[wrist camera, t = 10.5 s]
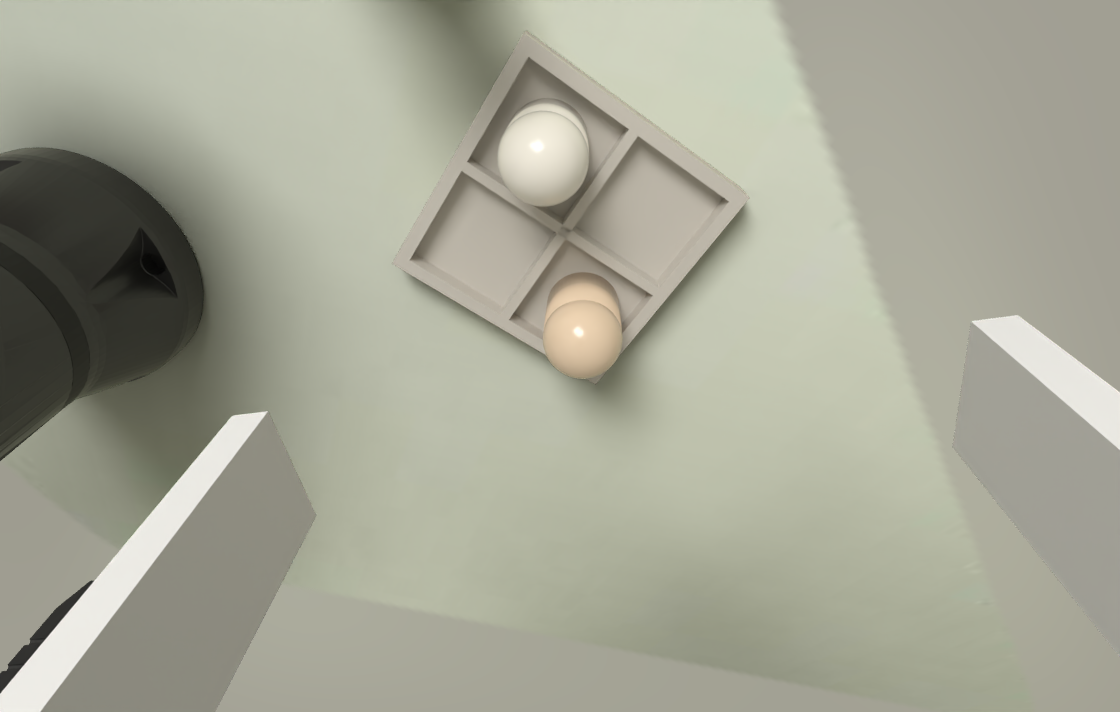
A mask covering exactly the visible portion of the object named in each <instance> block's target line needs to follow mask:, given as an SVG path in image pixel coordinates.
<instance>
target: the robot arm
mask: <svg viewBox="0 0 1120 712" xmlns="http://www.w3.org/2000/svg"><path fill="white" fill-rule="evenodd" d="M202 308H203V288H202V281H201V276H200V272H199V268H198V265H197V262H196V259H195V257H194V254H193V252H192V250H191V248H190V246H189V244H188V242H187V240H186V239H185V237H184V235H183V233H182V232H181V230H180V229H179V227H178V226H177V225H176V223H175V222H174V221H173V219H172V218H171V217H170V216H169V214H168V213H167V212H166V211H165V210H164V209H163V208H162V206H161V205H160V204H159V203H158V202H157V201H156V200H155V199H154V198H153V197H151V196H150V195H149V194H148V193H147V192H146V191H145V190H143V189H142V188H141V187H140V186H138V185H137V184H136V183H134V182H133V181H132V180H130V179H129V178H127V177H126V176H124V175H123V174H121V173H119V172H118V171H116V170H114V169H112V168H111V167H109V166H107V165H105V164H103V163H101V162H98V161H96V160H94V159H91V158H89V157H86V156H83V155H80V154H77V153H73V152H69V151H65V150H59V149H52V148H24V149H17V150H13V151H9V152H5V153H2V154H0V461H1V460H2V459H3V458H5V457H6V456H7V455H8V454H9V453H11V452H12V451H13V450H14V449H15V448H16V447H18V446H19V445H20V444H21V443H22V442H24V441H25V440H26V439H27V438H28V437H30V436H31V435H32V434H33V433H34V432H36V431H37V430H38V429H39V428H40V427H42V426H43V425H44V424H45V423H46V422H48V421H49V420H50V419H51V418H52V417H54V416H55V415H56V414H57V413H58V412H60V411H61V410H62V409H63V408H65V407H66V406H67V405H68V404H70V403H71V402H72V401H74V400H75V399H78V398H81V397H84V396H87V395H91V394H94V393H97V392H100V391H103V390H106V389H109V388H112V387H114V386H117V385H120V384H123V383H125V382H130V381H133V380H136V379H139V378H142V377H144V376H146V375H148V374H150V373H152V372H154V371H155V370H157V369H158V368H160V367H161V366H163V365H164V364H165V363H166V362H168V361H169V360H170V359H171V358H172V357H173V356H174V355H176V354H177V353H178V352H179V351H180V350H181V349H182V348H183V347H184V346H185V345H186V344H187V343H188V342H189V340H190V339H191V338H192V336H193V335H194V333H195V331H196V329H197V327H198V324H199V321H200V318H201V314H202ZM953 448H954V450H955V451H956V452H957V453H958V455H959V456H960V457H961V459H962V460H963V461H964V462H965V464H966V465H967V466H968V467H969V468H970V470H971V471H972V472H973V473H974V475H975V476H976V477H977V479H978V480H979V481H980V482H981V483H982V484H983V486H984V487H985V489H986V490H987V491H988V492H989V494H990V495H991V496H992V497H993V499H994V500H995V501H996V502H997V504H998V505H999V506H1000V507H1001V509H1002V510H1003V511H1004V512H1005V514H1006V515H1007V516H1008V517H1009V519H1010V520H1011V521H1012V523H1014V525H1015V526H1016V528H1017V529H1018V530H1019V531H1020V533H1021V534H1022V535H1023V536H1024V537H1025V539H1026V540H1027V541H1028V542H1029V544H1030V545H1031V546H1032V548H1033V549H1034V550H1035V551H1036V553H1037V554H1038V555H1039V556H1040V557H1041V559H1042V560H1043V561H1044V563H1045V564H1046V565H1047V566H1048V567H1049V569H1050V570H1051V571H1052V573H1053V574H1054V575H1055V576H1056V578H1057V579H1058V580H1059V581H1060V583H1061V584H1062V585H1063V586H1064V588H1065V589H1066V590H1067V591H1068V593H1069V594H1070V595H1071V596H1072V598H1073V599H1074V600H1075V601H1076V603H1077V604H1078V605H1079V607H1080V608H1081V609H1082V610H1083V612H1084V613H1085V614H1086V615H1087V617H1088V618H1089V619H1090V620H1091V622H1092V623H1093V624H1094V625H1095V627H1096V628H1097V629H1098V630H1099V632H1100V633H1101V634H1102V635H1103V637H1104V638H1105V639H1106V640H1107V642H1108V643H1109V644H1110V645H1111V646H1112V648H1113V649H1114V650H1115V652H1116V653H1117V654H1118V655H1119V657H1120V392H1118V391H1117V390H1116V389H1115V388H1113V387H1112V386H1111V385H1109V384H1108V383H1107V382H1105V381H1104V380H1103V379H1101V378H1100V377H1099V376H1097V375H1096V374H1095V373H1093V372H1092V371H1091V370H1089V369H1088V368H1087V367H1085V366H1084V365H1083V364H1081V363H1080V362H1079V361H1078V360H1076V359H1075V358H1074V357H1072V356H1071V355H1069V354H1068V353H1067V352H1066V351H1064V350H1063V349H1062V348H1060V347H1059V346H1058V345H1056V344H1055V343H1054V342H1052V341H1051V340H1050V339H1048V338H1047V337H1046V336H1045V335H1043V334H1042V333H1041V332H1039V331H1038V330H1037V329H1035V328H1034V327H1033V326H1031V325H1030V324H1028V323H1027V322H1026V321H1025V320H1023V319H1022V318H1021V317H1019V316H1018V315H1016V316H1008V317H1000V318H992V319H984V320H977V321H971V325H970V331H969V338H968V345H967V352H966V359H965V365H964V372H963V379H962V386H961V393H960V399H959V406H958V413H957V419H956V427H955V433H954V440H953ZM315 517H316V513H315V511H314V509H313V507H312V505H311V502H310V500H309V498H308V496H307V494H306V492H305V489H304V487H303V485H302V483H301V481H300V479H299V477H298V474H297V472H296V470H295V468H294V466H293V464H292V461H291V459H290V457H289V455H288V453H287V451H286V448H285V446H284V444H283V442H282V440H281V438H280V435H279V433H278V431H277V429H276V427H275V425H274V423H273V420H272V418H271V416H270V414H269V412H268V411H265V412H257V413H249V414H242V415H234V416H232V417H231V418H230V419H229V420H228V421H227V423H226V424H225V425H224V426H223V427H222V429H221V430H220V431H219V432H218V433H217V435H216V436H215V437H214V438H213V439H212V441H211V442H210V443H209V444H208V445H207V447H206V448H205V449H204V450H203V451H202V453H201V454H200V455H199V456H198V457H197V458H196V460H195V461H194V462H193V463H192V464H191V466H190V467H189V468H188V469H187V470H186V472H185V473H184V474H183V475H182V476H181V478H180V479H179V480H178V481H177V482H176V484H175V485H174V486H173V487H172V488H171V490H170V491H169V492H168V493H167V494H166V496H165V497H164V498H163V499H162V500H161V502H160V503H159V504H158V505H157V506H156V508H155V509H154V510H153V511H152V512H151V514H150V515H149V516H148V517H147V518H146V520H145V521H144V522H143V523H142V524H141V526H140V527H139V528H138V529H137V530H136V532H135V533H134V534H133V535H132V536H131V538H130V539H129V540H128V541H127V542H126V544H125V545H124V546H123V547H122V548H121V550H120V551H119V552H118V553H117V554H116V556H115V557H114V558H113V559H112V560H111V562H110V563H109V564H108V565H107V567H106V568H105V569H104V570H103V571H102V572H101V574H100V575H99V576H98V577H97V578H96V580H94V581H90V582H88V583H87V584H86V585H85V586H84V587H82V588H81V589H80V590H78V591H77V592H76V593H75V594H73V595H72V596H71V597H70V598H69V599H67V600H66V601H65V602H64V603H62V604H61V605H60V606H59V607H58V608H56V609H55V610H54V612H53V613H52V614H51V615H50V616H49V618H48V619H47V620H46V621H45V622H44V623H43V624H42V626H41V627H40V628H39V629H38V630H37V631H36V632H35V634H34V635H33V636H32V637H31V638H30V644H29V645H25V646H23V648H22V649H21V650H20V651H19V652H18V653H17V655H16V656H15V657H14V658H13V659H12V660H11V662H10V663H9V664H8V670H7V671H2V672H1V673H0V712H215V711H216V709H217V707H218V705H219V703H220V701H221V699H222V697H223V696H224V694H225V692H226V690H227V688H228V686H229V684H230V682H231V680H232V678H233V676H234V674H235V672H236V670H237V668H238V667H239V665H240V663H241V661H242V659H243V657H244V655H245V653H246V651H247V649H248V647H249V645H250V643H251V641H252V639H253V638H254V635H255V634H256V632H257V630H258V628H259V626H260V624H261V622H262V620H263V618H264V616H265V614H266V612H267V610H268V608H269V606H270V604H271V603H272V601H273V599H274V597H275V595H276V593H277V591H278V589H279V587H280V585H281V583H282V581H283V579H284V577H285V576H286V574H287V572H288V570H289V568H290V566H291V564H292V562H293V560H294V558H295V556H296V554H297V552H298V550H299V548H300V546H301V545H302V543H303V541H304V539H305V537H306V535H307V533H308V531H309V529H310V527H311V525H312V523H313V521H314V519H315Z"/></svg>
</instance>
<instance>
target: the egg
mask: <svg viewBox="0 0 1120 712" xmlns="http://www.w3.org/2000/svg"><path fill="white" fill-rule="evenodd" d="M622 340H623V336H622V326H621V316H620V307H619V299H618V295H617V293H616V291H615V289H614V287H613V286H612V285H611V284H610V283H609V282H608V281H607V280H606V279H604V278H603V277H601V276H599V275H596V274H593V273H588V272H578V273H573V274H570V275H567V276H565V277H563V278H562V279H560V280H559V281H558V282H557V283H556V284H555V285H554V286H553V288H552V289H551V291H550V293H549V295H548V299H547V306H546V314H545V322H544V330H543V347H544V350H545V353H546V356H547V358H548V359H549V361H550V362H551V364H552V365H553V366H554V367H555V368H556V369H557V370H558V371H560V372H561V373H563V374H565V375H567V376H570V377H573V378H579V379H586V378H592V377H596V376H598V375H600V374H602V373H604V372H605V371H607V370H608V369H609V368H610V367H611V366H612V365H613V364H614V363H615V361H616V360H617V358H618V356H619V354H620V351H621V348H622Z"/></svg>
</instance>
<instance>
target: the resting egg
mask: <svg viewBox="0 0 1120 712" xmlns="http://www.w3.org/2000/svg"><path fill="white" fill-rule="evenodd" d="M497 164H498V170H499V173H500V176H501V178H502V181H503V183H504V184H505V186H506V187H507V189H508V190H509V191H510V192H511V193H512V194H513V195H514V196H515V197H517V198H518V199H519V200H521V201H523V202H525V203H527V204H530V205H534V206H543V207H546V206H553V205H557V204H559V203H562V202H564V201H566V200H567V199H569V198H570V197H571V196H573V195H574V194H575V193H576V192H577V191H578V189H579V188H580V187H581V185H582V183H583V182H584V179H585V177H586V174H587V171H588V165H589V137H588V131H587V127H586V124H585V122H584V120H583V118H582V117H581V115H580V114H579V113H578V112H577V111H576V109H574V108H573V107H572V106H571V105H569V104H568V103H566V102H564V101H561V100H558V99H554V98H541V99H536V100H533V101H531V102H529V103H527V104H525V105H524V106H523V107H521V108H520V109H519V110H518V111H517V113H516V114H515V115H514V117H513V118H512V120H511V122H510V124H509V125H508V127H507V129H506V130H505V132H504V134H503V136H502V138H501V141H500V143H499V147H498V153H497Z"/></svg>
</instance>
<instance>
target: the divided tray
mask: <svg viewBox="0 0 1120 712" xmlns="http://www.w3.org/2000/svg"><path fill="white" fill-rule="evenodd" d="M541 98H554V99H558V100H561V101H564V102H566V103H568V104H569V105H571V106H572V107H573V108H574V109H576V111H577V112H578V113H579V114H580V115H581V117H582V118H583V120H584V122H585V124H586V127H587V131H588V137H589V165H588V171H587V174H586V177H585V179H584V182H583V183H582V185H581V187H580V188H579V189H578V191H577V192H576V193H575V194H574V195H573V196H571V197H570V198H569V199H567V200H566V201H564V202H562V203H559V204H557V205H553V206H546V207H543V206H534V205H530V204H527V203H525V202H523V201H521V200H519V199H518V198H517V197H515V196H514V195H513V194H512V193H511V192H510V191H509V190H508V189H507V187H506V186H505V184H504V183H503V181H502V178H501V176H500V173H499V170H498V164H497V153H498V147H499V143H500V141H501V138H502V136H503V134H504V132H505V130H506V129H507V127H508V125H509V124H510V122H511V120H512V118H513V117H514V115H515V114H516V113H517V111H518V110H519V109H520V108H521V107H523V106H524V105H525V104H527V103H529V102H531V101H533V100H536V99H541ZM748 199H749V197H748V195H747V194H746V193H745V191H744V190H743V189H742V188H741V187H739V186H738V185H737V184H735V183H734V182H733V181H731V180H730V179H729V178H727V177H726V176H724V175H723V174H722V173H720V172H719V171H718V170H716V169H715V168H714V167H712V166H711V165H709V164H708V163H707V162H705V161H704V160H703V159H701V158H700V157H699V156H697V155H696V154H694V153H693V152H692V151H690V150H689V149H688V148H686V147H685V146H683V145H682V144H681V143H679V142H678V141H677V140H675V139H674V138H673V137H671V136H670V135H668V134H667V133H666V132H664V131H663V130H662V129H660V128H659V127H658V126H656V125H655V124H653V123H652V122H651V121H649V120H648V119H647V118H645V117H644V116H643V115H641V114H640V113H638V112H637V111H636V110H634V109H633V108H632V107H630V106H629V105H628V104H626V103H625V102H623V101H622V100H621V99H619V98H618V97H617V96H615V95H614V94H613V93H611V92H610V91H608V90H607V89H606V88H604V87H603V86H602V85H600V84H599V83H598V82H596V81H595V80H593V79H592V78H591V77H589V76H588V75H587V74H585V73H584V72H583V71H581V70H580V69H578V68H577V67H576V66H574V65H573V64H572V63H570V62H569V61H568V60H566V59H565V58H563V57H562V56H561V55H559V54H558V53H557V52H555V51H554V50H553V49H551V48H550V47H548V46H547V45H546V44H544V43H543V42H542V41H540V40H539V39H538V38H536V37H535V36H533V35H532V34H531V33H529V32H528V31H525V32H524V33H523V34H522V36H521V38H520V40H519V41H518V43H517V45H516V47H515V48H514V50H513V52H512V54H511V55H510V57H509V59H508V61H507V62H506V64H505V66H504V68H503V69H502V71H501V73H500V75H499V76H498V78H497V80H496V82H495V83H494V85H493V87H492V89H491V90H490V92H489V94H488V96H487V97H486V99H485V101H484V103H483V104H482V106H481V108H480V110H479V111H478V113H477V115H476V117H475V118H474V120H473V122H472V124H471V125H470V127H469V129H468V131H467V132H466V134H465V136H464V138H463V139H462V141H461V143H460V145H459V146H458V148H457V150H456V152H455V153H454V155H453V157H452V159H451V160H450V162H449V164H448V166H447V167H446V169H445V171H444V173H443V174H442V176H441V178H440V180H439V181H438V183H437V185H436V187H435V188H434V190H433V192H432V194H431V195H430V197H429V199H428V201H427V202H426V204H425V206H424V208H423V209H422V211H421V213H420V215H419V216H418V218H417V220H416V222H415V223H414V225H413V227H412V229H411V230H410V232H409V234H408V236H407V237H406V239H405V241H404V243H403V244H402V246H401V248H400V250H399V251H398V253H397V255H396V257H395V258H394V260H393V262H392V264H393V265H395V266H397V267H398V268H400V269H402V270H403V271H405V272H407V273H408V274H410V275H412V276H413V277H415V278H417V279H418V280H420V281H422V282H424V283H425V284H427V285H429V286H430V287H432V288H434V289H435V290H437V291H439V292H440V293H442V294H444V295H445V296H447V297H449V298H450V299H452V300H454V301H456V302H457V303H459V304H461V305H462V306H464V307H466V308H467V309H469V310H471V311H472V312H474V313H476V314H477V315H479V316H481V317H482V318H484V319H486V320H487V321H489V322H491V323H493V324H494V325H496V326H498V327H499V328H501V329H503V330H504V331H506V332H508V333H509V334H511V335H513V336H514V337H516V338H518V339H519V340H521V341H523V342H525V343H526V344H528V345H530V346H531V347H533V348H535V349H536V350H538V351H540V352H541V353H543V354H545V355H546V353H545V350H544V347H543V330H544V322H545V314H546V306H547V299H548V295H549V293H550V291H551V289H552V288H553V286H554V285H555V284H556V283H557V282H558V281H559V280H560V279H562V278H563V277H565V276H567V275H570V274H573V273H578V272H588V273H593V274H596V275H599V276H601V277H603V278H604V279H606V280H607V281H608V282H609V283H610V284H611V285H612V286H613V287H614V289H615V291H616V293H617V295H618V299H619V307H620V316H621V326H622V336H623V340H622V348H621V351H620V354H619V356H620V355H621V353H622V352H623V351H624V350H625V348H626V347H627V346H628V345H629V344H630V342H631V341H632V340H633V339H634V338H635V336H636V335H637V334H638V333H639V331H640V330H641V329H642V328H643V327H644V325H645V324H646V323H647V322H648V321H649V319H650V318H651V317H652V316H653V315H654V313H655V312H656V311H657V310H658V308H659V307H660V306H661V305H662V304H663V302H664V301H665V300H666V299H667V298H668V296H669V295H670V294H671V293H672V292H673V290H674V289H675V288H676V287H677V285H678V284H679V283H680V282H681V281H682V279H683V278H684V277H685V276H686V275H687V273H688V272H689V271H690V270H691V268H692V267H693V266H694V265H695V264H696V262H697V261H698V260H699V259H700V258H701V256H702V255H703V254H704V253H705V252H706V250H707V249H708V248H709V247H710V245H711V244H712V243H713V242H714V241H715V239H716V238H717V237H718V236H719V235H720V233H721V232H722V231H723V230H724V229H725V227H726V226H727V225H728V224H729V222H730V221H731V220H732V219H733V218H734V216H735V215H736V214H737V213H738V212H739V210H740V209H741V208H742V207H743V205H744V204H745V203H746V202H747V201H748ZM619 356H618V357H619ZM605 373H606V371H605V372H604V373H602V374H600V375H598V376H596V377H592V378H586V379H587V380H588V381H590V382H592V383H594V384H595V385H596V384H597V382H598V381H599V380H600V379H601V378H602V376H603V375H604V374H605Z"/></svg>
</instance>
